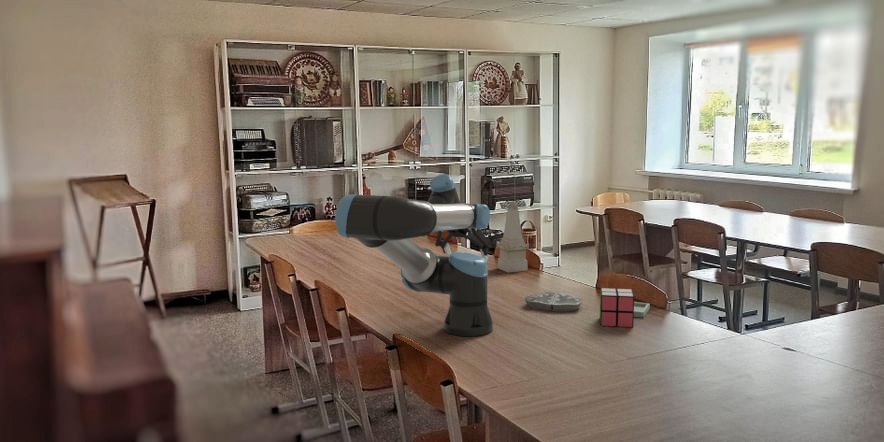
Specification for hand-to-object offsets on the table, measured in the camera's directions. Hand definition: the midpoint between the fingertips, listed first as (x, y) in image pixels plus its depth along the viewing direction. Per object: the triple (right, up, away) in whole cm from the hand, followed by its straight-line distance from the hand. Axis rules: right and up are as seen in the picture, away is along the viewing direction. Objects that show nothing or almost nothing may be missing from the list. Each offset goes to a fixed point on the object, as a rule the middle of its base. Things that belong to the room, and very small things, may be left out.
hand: (468, 259), depth 245 cm
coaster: (+54, -17, -10) cm, 57 cm away
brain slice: (+30, -16, -2) cm, 34 cm away
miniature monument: (+22, -8, +59) cm, 63 cm away
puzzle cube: (+46, -19, -23) cm, 55 cm away
